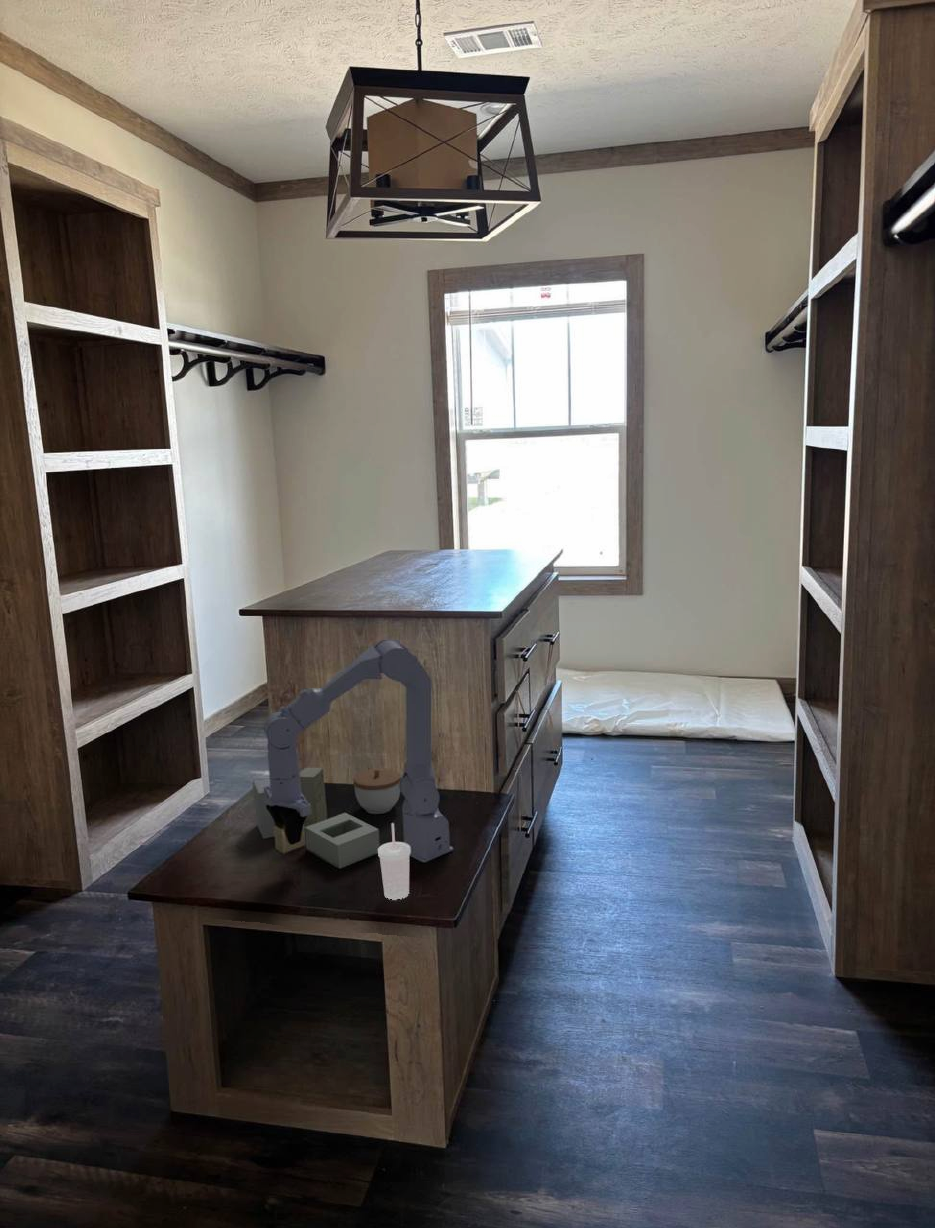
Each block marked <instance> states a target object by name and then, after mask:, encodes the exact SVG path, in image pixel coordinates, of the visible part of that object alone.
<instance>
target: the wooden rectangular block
mask: <svg viewBox="0 0 935 1228" xmlns="http://www.w3.org/2000/svg"><path fill="white" fill-rule="evenodd" d="M274 835H275V836H274V843H275V844H274V845H275V850H278V851H279V852H280V853H283V854H286V853H288V852H290V851H294V850H296V849H299V848H301V847H305V846H306V834H305V828H304V825H303V829H302V835H301V840H300V842H298V843H295V844H292V845H291V844H290V843H289V840H288V837H287V831H286V827H285V824H284V822H280V823H277V824H274Z"/></svg>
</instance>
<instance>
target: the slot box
mask: <svg viewBox="0 0 935 1228" xmlns="http://www.w3.org/2000/svg"><path fill="white" fill-rule="evenodd" d="M305 840H306V845H305V847H306V851H308V852H309V853H311V854H313V855H315V856H316V857H318V858H320V859H322V860H324V862H327V863H328V864H330V865H332V866H333V867H335V868H337V869H343V868H345V867H347V866H350V865H352V864H355V863H357V862H360V861H362V860H365V859H367V858H370V857H372V856H375V855H377V854H378V848H379V847H380V846H381V845H380V830H379V828H377V827H375V826H373V825H371V824H369V823H367V822H365V821H363V820H361V819H359V818H357V817H355V816H353V815H350V814H348V813H347V812H343V813H341V814H337V815H336V816H332V817H330V818H327V820H324V821H321V822H318V823H316V824H313V825H310V826H307V827H305Z"/></svg>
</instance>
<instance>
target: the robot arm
mask: <svg viewBox="0 0 935 1228" xmlns="http://www.w3.org/2000/svg"><path fill="white" fill-rule="evenodd" d="M382 674H383V675H385V676H386V677H387V678H388V679H390V680H393V681H395V682H398V683H400V684H402V685H403V686H404V687H405V724H406V725H405V742H406V743H405V744H406V745H405V747H406V749H405V750H406V751H405V753H406V754H405V755H406V756H405V758H406V759H405V762H404V764H403V773H402V776H401V779H400V783H399V788H400V794H401V795H403V797H404V800H403V804H402V805H401V806H402V807H401V810H402V813H401V814H402V827H403V842H404V843H407V844H408V845H409V846H410V848H411V853H410V855H409V857H412V858H413V859H416V860H417V861H419V862H422V863H427V862H429V861H431V860H434V859H436V858H438V857H442V855H445V854H448V853H450V852H451V851H453V850H454V847H453V846H450V845H451V844H450V843H451V841H450V840H451V839H450V824H449V821H448V819H447V818H446V817H445V816H444V815H443V814H442V813H441V812H440V810H439V806H438V805H439V803H440V799H441V798H440V793H439V790H438V788H437V787H436V778H435V774H434V769H433V766H432V678H431V676H430V675H429V673H428V672H427V670H426V669H425V668H424V667H423V665H422V663H421V662H420V661H419V659H418V657H417V656H416V655H414V654H413V653H412V652H411V651H410V650H409V649H408V648H407V647H406V646H405V645H403V644H401V643H400V642H398V641H397V640H396V639H393V638H385V639H384V638H383V639H381V640H380V641H379V640H378V642H377V643H376V644H375V645H374V646H371V647H369V648H367V649H366V650H365V651H363V652H362V654H361V655H360V656H358V657H357V658H356V659H355V660H354V661H352V662H351V663H350V664H349V665H348V666H346V667H345V668H343V670H342V671H341V672H339V673H338V674H337V675H336V676H334V677H333V678H332V679H331V680H329V681H328V682H327V683H326V684H325V685H323V686H322V687H321V688H318V687H311V688H309V689H308V690H306V689H305V688H304V689H302V690H301V691H300V692H299V697H297V698H296V699H295V700H293V701H292V702H290V703H288V705H287V706H284V705H282V706H281V707H280V708H279V711H278V712H277V711H276V712H274V713H272V714H269V716H268V717H267V718H266V720H265V723H264V726H263V730H264V733H265V735H266V738H267V745H266V746H267V747H266V748H267V763H268V770H269V771H268V775H269V778H270V785H269V786H266V787H264V788H263V789H264V796H265V797H269V799H268V800H267V801H266V802H267V804H268V805H266V809H267V810H268V811H269V813H270V814H271V816H272V818H273V820H274V822H275V824H277V823H280V822H284V824H285V827H286V831H287V837H288V840H289V843H290V844H291V845H292V844H295V843H298V842H300V840H301V835H302V829H303V825H304V822H305V819H306V817H307V815H310V814H312V812H311V804H309V803H308V802H307V801H306V799H305V797H304V795H303V794H302V792H301V784H300V772H301V771H300V763H299V751H298V749H297V741H298V739H299V734H300V733H301V732H304V731H305V730H306V729H308V728H309V727H310V726H312V725H313V724H315V723H316V722H317V721H319V720H320V719H321V718H322V717H324V716H325V715H327V714H328V713H329V712H330V708H331V704H332V703H333V702H334V701H336V700H337V699H338V698H340V696H343V695H344V694H345V693H347V692H348V691H350V690H351V689H353V688H354V687H355V686H357V685H358V684H360V683H362V682H363V681H365V680H383V677H382Z"/></svg>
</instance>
